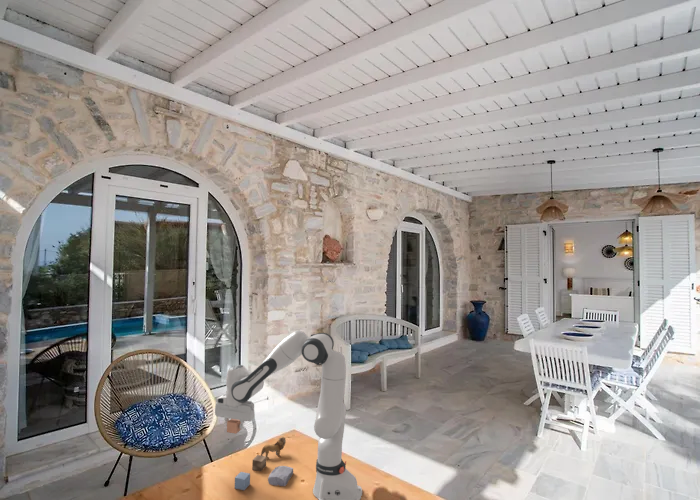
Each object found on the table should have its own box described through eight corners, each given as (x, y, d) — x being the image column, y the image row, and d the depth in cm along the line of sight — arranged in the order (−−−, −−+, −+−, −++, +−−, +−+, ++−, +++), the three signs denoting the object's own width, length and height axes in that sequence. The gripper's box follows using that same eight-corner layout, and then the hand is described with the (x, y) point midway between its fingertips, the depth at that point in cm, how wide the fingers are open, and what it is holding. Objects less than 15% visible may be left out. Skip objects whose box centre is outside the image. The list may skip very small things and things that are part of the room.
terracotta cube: (241, 429, 193) (241, 419, 193) (236, 433, 189) (236, 423, 189) (232, 427, 195) (232, 417, 195) (226, 432, 190) (227, 421, 190)
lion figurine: (283, 450, 214) (283, 434, 214) (287, 455, 210) (287, 438, 210) (257, 457, 206) (257, 440, 206) (260, 462, 202) (261, 445, 202)
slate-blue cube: (249, 484, 183) (250, 473, 183) (244, 490, 178) (244, 479, 178) (240, 482, 184) (240, 471, 184) (234, 488, 180) (234, 477, 179)
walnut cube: (266, 466, 198) (266, 456, 198) (261, 471, 194) (261, 461, 194) (257, 464, 200) (257, 454, 200) (252, 469, 195) (252, 459, 195)
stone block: (266, 488, 183) (286, 487, 182) (265, 478, 184) (285, 476, 182) (276, 475, 195) (295, 473, 193) (274, 465, 195) (293, 463, 194)
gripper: (257, 399, 192) (256, 427, 192) (220, 394, 197) (220, 421, 197) (250, 404, 186) (250, 433, 186) (213, 398, 191) (212, 427, 191)
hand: (234, 427), depth 192 cm, fingers closed on terracotta cube, 5 cm apart
